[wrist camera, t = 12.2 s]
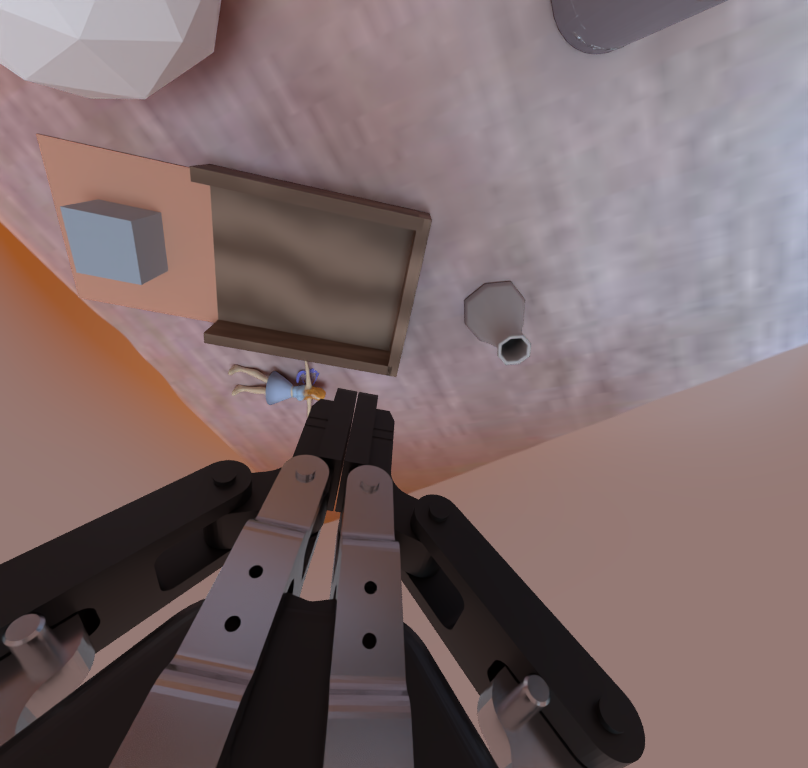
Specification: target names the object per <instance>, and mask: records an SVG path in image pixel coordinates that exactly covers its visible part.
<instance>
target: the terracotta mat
mask: <svg viewBox="0 0 808 768" xmlns="http://www.w3.org/2000/svg"><path fill="white" fill-rule="evenodd" d="M36 136H37V140H38V143H39V147H40V151H41V155H42V159H43V162H44V166H45V170H46V174H47V178H48V182H49V185H50V189H51V193H52V197H53V201H54V204H55V208H56V212H57V216H58V220H59V224H60V227H61V231H62V235H63V239H64V243H65V246H66V250H67V254H68V258H69V262H70V265H71V269H72V273H73V277H74V281H75V285H76V288H77V292H78V296H79V298H83V299H88V300H94V301H99V302H105V303H110V304H115V305H121V306H126V307H132V308H137V309H143V310H148V311H154V312H159V313H164V314H170V315H175V316H181V317H186V318H192V319H197V320H203V321H208V322H213V323H215V322H216V321H217V320H218V308H217V291H216V275H215V259H214V242H213V226H212V209H211V193H210V186H209V185H205V184H200V183H195V182H191V177H190V168H189V167H184V166H180V165H175V164H171V163H166V162H162V161H157V160H153V159H148V158H144V157H139V156H135V155H130V154H126V153H121V152H117V151H112V150H108V149H103V148H99V147H94V146H90V145H85V144H81V143H76V142H72V141H67V140H63V139H58V138H54V137H49V136H45V135H40V134H36ZM97 199H99V200H104V201H109V202H113V203H118V204H123V205H128V206H132V207H137V208H142V209H146V210H151V211H156V212H161V216H162V224H163V232H164V240H165V248H166V256H167V264H168V271H167V272H165V273H163V274H161V275H159V276H157V277H156V278H154V279H152V280H150V281H148V282H146V283H144V284H143V285H139V284H133V283H128V282H123V281H118V280H113V279H107V278H102V277H97V276H92V275H87V274H81V273H77V272H76V268H75V264H74V260H73V256H72V252H71V248H70V244H69V240H68V236H67V232H66V229H65V225H64V221H63V217H62V213H61V209H60V206H65V205H70V204H76V203H81V202H87V201H92V200H97Z"/></svg>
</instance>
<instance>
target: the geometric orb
mask: <svg viewBox="0 0 808 768" xmlns="http://www.w3.org/2000/svg"><path fill="white" fill-rule="evenodd" d="M220 6H221V0H0V64H2V65H3V66H5V67H6V68H8V69H9V70H11V71H12V72H14V73H15V74H17V75H18V76H19V77H21V78H22V79H24V80H26V81H30V82H33V83H37V84H40V85H44V86H47V87H51V88H54V89H58V90H61V91H65V92H68V93H72V94H75V95H79V96H82V97H86V98H89V99H147V98H148V97H149V96H151V95H152V94H154V93H155V92H157V91H158V90H160V89H161V88H163V87H164V86H165V85H167V84H168V83H170V82H171V81H173V80H174V79H176V78H177V77H179V76H180V75H182V74H183V73H184V72H186V71H187V70H189V69H190V68H192V67H193V66H195V65H196V64H198V63H199V62H200V61H202V60H203V59H205V58H206V57H208V56H209V55H211V54H212V53H214V48H215V41H216V34H217V27H218V20H219V13H220Z"/></svg>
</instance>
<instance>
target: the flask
mask: <svg viewBox="0 0 808 768" xmlns="http://www.w3.org/2000/svg"><path fill="white" fill-rule="evenodd" d="M464 302H465V325H466V326H467V327H468V328H469V329H470V330H471V331H472V332H473V334H474V335H475V336H476V337H477V338H478V339H479V340H480V341H483V342H486V343H489V344H491V345H493V346H495V347H497V348H498V353H497V356H498V357H499V358H500V359H501V360H502V362H503V363H504V364H505V365H512V364H519V363H521V362H522V361H524V360H525V359H527V358H528V357H530V351H531V343H530V342H529V341H528V339H527V338H526V337H525V336H524V335H523V334H522V327H523V321H524V308H525V299H524V298H523V296H522V295H521V294H520V292H519V291H518V290H517V289H516V287H515V286H514V285H513V283H512V282H511V281H510V282H499V283H488V284H484V285H483V286H482V287H480V288H479V289H478V290H477V291H475V292H474V293H473V294H472V295H471V296H469V297H468V298H467V299H466V300H464Z"/></svg>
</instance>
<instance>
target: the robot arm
mask: <svg viewBox="0 0 808 768" xmlns="http://www.w3.org/2000/svg"><path fill="white" fill-rule="evenodd" d="M725 1H727V0H552V7H553V13H554V18H555V20H556V23H557V26H558V28H559V30H560V32H561V33H562V35H563V36H564V38H565V39H566V41H567V42H569V43H570V44H571V45H572V46H573V47H574V48H576V49H578V50H580V51H583V52H585V53H592V54H601V53H608V52H611V51H613V50H616V49H619V48H622V47H624V46H625V45H627V44H630V43H632V42H634V41H637V40H639V39H642V38H644V37H646V36H648V35H651V34H653V33H655V32H657V31H660V30H662V29H664V28H666V27H669V26H671V25H673V24H675V23H678V22H680V21H682V20H684V19H687V18H689V17H691V16H693V15H696V14H698V13H700V12H702V11H705V10H707V9H709V8H711V7H714V6H716V5H718V4H720V3H723V2H725ZM356 397H357V391H351V390H346V389H341V388H338V389H337V392H336V396H335V399H334V401H330V400H325V399H320V400H319V401H318V402H316V403H315V404H314V405H313V406H312V407H311V410H310V412H309V415H308V418H307V420H306V423H305V426H304V428H303V431H302V434H301V436H300V439H299V442H298V444H297V447H296V450H295V452H294V455H293V457H292V458H291V459H289V460H288V461H286V462H285V463H284V465H283V466H282V467H281V468H279V469H276V470H273V471H267V472H257V473H251V471H250V469H249V468H248V467H247V466H246V465H245V464H243V463H241V462H238V461H232V460H225V461H219V462H216V463H213V464H211V465H209V466H206V467H205V468H202V469H200V470H198V471H196V472H194V473H192V474H190V475H188V476H186V477H184V478H182V479H179V480H177V481H175V482H173V483H171V484H169V485H166V486H165V487H162V488H160V489H158V490H156V491H154V492H152V493H150V494H148V495H145V496H143V497H141V498H139V499H137V500H135V501H133V502H131V503H129V504H126V505H124V506H122V507H120V508H118V509H116V510H114V511H112V512H110V513H108V514H106V515H103V516H101V517H99V518H97V519H95V520H93V521H91V522H89V523H86V524H84V525H82V526H81V527H78V528H76V529H74V530H72V531H70V532H68V533H65V534H63V535H61V536H59V537H57V538H55V539H53V540H51V541H49V542H46V543H44V544H42V545H40V546H38V547H36V548H34V549H32V550H30V551H27V552H25V553H23V554H21V555H19V556H17V557H15V558H13V559H11V560H9V561H7V562H4V563H2V564H0V768H623V767H625V766H627V765H629V764H631V763H633V762H635V761H637V760H638V759H639V758H640V757H641V755H642V754H643V751H644V747H645V734H644V729H643V726H642V723H641V720H640V717H639V715H638V713H637V711H636V709H635V707H634V706H633V704H632V703H631V701H630V700H629V698H628V697H627V696H626V695H625V694H624V693H623V691H622V690H621V689H620V688H619V687H618V686H617V685H616V684H615V682H613V680H612V679H611V678H610V677H609V676H608V675H607V674H606V672H605V671H604V670H603V669H602V668H601V667H600V666H599V665H598V664H597V662H596V661H595V660H594V659H593V658H592V657H591V656H590V655H589V654H588V652H587V651H586V650H585V649H584V648H583V647H582V646H581V645H580V644H579V643H578V641H577V640H576V639H575V638H574V637H573V636H572V635H571V634H570V633H569V631H568V630H567V629H566V628H565V627H564V626H563V625H562V624H561V622H560V621H559V620H558V619H557V618H556V617H555V616H554V615H553V613H552V612H551V611H550V610H549V609H548V608H547V607H546V606H545V605H544V604H543V602H542V601H541V600H540V599H539V598H538V597H537V596H536V595H535V593H534V592H533V591H532V590H531V589H530V588H529V587H528V586H527V585H526V583H524V581H523V580H522V579H521V578H520V577H519V576H518V575H517V573H515V571H514V570H513V569H512V568H511V567H510V566H509V565H508V563H507V562H506V561H505V560H504V559H503V558H502V557H501V556H500V555H499V553H498V552H497V551H496V550H495V549H494V548H493V547H492V546H491V545H490V543H489V542H488V541H487V540H486V539H485V538H484V537H483V536H482V535H481V533H480V532H479V531H478V530H477V529H476V528H475V527H474V526H473V525H472V524H471V522H470V521H469V520H468V519H467V518H466V517H465V516H464V515H463V513H462V512H461V511H460V510H459V509H458V508H457V507H456V506H455V505H454V504H453V503H452V502H451V501H450V500H448V499H447V498H445V497H442V496H439V495H426V496H423V497H421V498H420V499H419V500H418V499H416V498H414V497H412V496H410V495H408V494H406V493H404V492H402V491H401V490H400V489H399V488H398V487H397V486H396V485H395V483H394V482H393V480H392V477H391V464H392V450H393V435H394V419H393V417H392V415H391V413H390V411H385V410H380V409H376V407H377V400H378V395H373V394H368V393H362V392H359V394H358V399H357V403H356V408H355V402H356ZM354 408H355V413H354ZM353 414H354V417H353ZM352 419H353V422H352ZM351 425H352V427H351ZM350 430H351V431H350ZM349 435H350V436H349ZM346 449H347V450H346ZM344 458H345V459H344ZM343 463H344V464H343ZM342 468H343V470H342ZM341 472H342V476H341ZM340 477H341V481H340ZM339 482H340V487H339V493H338V498H337V504H336V509H335V511H336V512H341V514H340V520H339V525H338V530H337V536H336V545H335V555H334V564H333V573H332V582H331V591H330V599H329V600H322V601H313V602H312V601H307V600H305V599H302V598H300V594H301V590H302V586H303V583H304V580H305V577H306V574H307V571H308V568H309V565H310V561H311V559H312V556H313V553H314V550H315V546H316V543H317V540H318V537H319V534H320V530H321V527H322V525H323V523H324V519H325V515H326V511H327V510H329V511H333V509H334V505H335V500H336V495H337V491H338V486H339ZM222 566H223V567H222ZM221 567H222V569H221V571H220V573H219V574H218V576H217V578H216V580H215V582H214V584H213V586H212V587H211V590H210V591H209V593H208V595H207V597H206V599H203V600H200V601H198V602H196V603H194V604H192V605H190V606H188V607H187V608H185V609H183V610H182V611H180V612H178V613H177V614H176V615H174V616H173V617H171V618H170V619H169V620H167V621H166V622H165V623H163V624H162V625H161V626H159V627H158V628H157V629H155V630H154V631H153V632H152V633H150V634H149V635H148V636H146V637H145V638H144V639H142V640H141V641H140V642H138V643H137V644H136V645H134V646H133V647H132V648H130V649H129V650H128V651H126V652H125V653H124V654H122V655H121V656H120V657H118V658H117V659H116V660H115V661H113V662H112V663H111V664H109V665H108V666H107V667H105V668H104V669H102V670H101V671H100V672H99V673H97V674H96V675H95V676H93V677H92V678H91V679H89V680H88V681H87V682H85V683H84V684H83V685H81V686H80V687H79V688H77V687H78V686H79V685H80V684H81V683H82V682H83V680H84V679H85V678H86V676H87V675H88V673H89V671H90V669H91V667H92V664H93V661H94V657H95V653H97V652H98V651H100V650H101V649H103V648H104V647H106V646H107V645H109V644H110V643H112V642H113V641H114V640H116V639H117V638H119V637H120V636H122V635H123V634H125V633H126V632H128V631H129V630H130V629H132V628H133V627H135V626H136V625H138V624H139V623H141V622H142V621H144V620H145V619H146V618H148V617H149V616H151V615H152V614H154V613H155V612H157V611H158V610H160V609H161V608H162V607H164V606H165V605H167V604H168V603H170V602H171V601H173V600H174V599H176V598H177V597H178V596H180V595H182V594H183V593H184V592H186V591H187V590H189V589H190V588H192V587H193V586H195V585H196V584H198V583H199V582H201V581H202V580H203V579H205V578H206V577H208V576H209V575H211V574H212V573H214V572H215V571H216V570H218V569H219V568H221ZM401 580H402V582H403V583H404V584H405V586H406V587H407V589H408V590H409V592H410V593H411V595H412V596H413V598H414V599H415V600H416V602H417V603H418V605H419V607H420V608H421V610H422V611H423V612H424V614H425V615H426V617H427V618H428V620H429V621H430V623H431V624H432V626H433V627H434V629H435V630H436V632H437V633H438V635H439V636H440V638H441V639H442V641H443V642H444V644H445V645H446V646H447V648H448V649H449V651H450V652H451V654H452V655H453V657H454V658H455V660H456V661H457V663H458V664H459V666H460V667H461V669H462V670H463V671H464V673H465V675H466V676H467V678H468V679H469V680H470V682H471V683H472V685H473V686H474V688H475V689H476V691H477V692H478V694H479V695H480V698H479V701H478V706H477V716H478V722H479V726H480V729H481V732H482V734H483V736H484V738H485V740H486V742H487V744H488V746H489V749H490V752H491V754H490V752H489V750H488V749H487V747H486V745H485V744H484V742H483V740H482V739H481V737H480V735H479V734H478V732H477V730H476V729H475V727H474V725H473V724H472V722H471V720H470V719H469V717H468V715H467V714H466V712H465V710H464V709H463V707H462V705H461V704H460V702H459V701H458V699H457V697H456V695H455V694H454V692H453V690H452V689H451V687H450V685H449V684H448V682H447V680H446V679H445V677H444V675H443V674H442V672H441V670H440V669H439V667H438V665H437V664H436V662H435V661H434V659H433V657H432V655H431V654H430V652H429V650H428V649H427V647H426V646H425V644H424V643H423V641H422V640H421V639H420V637H419V636H418V635H417V634H416V633H415V632H414V631H413V630H412V629H411V628H410V627H409V626H408V625H407V624H405V623H404V622H403V609H402V608H403V607H402V585H401ZM76 688H77V689H76ZM75 689H76V690H75ZM74 690H75V691H74Z"/></svg>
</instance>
